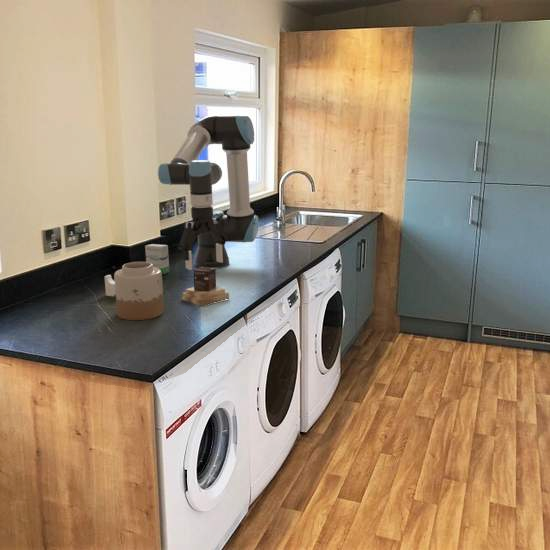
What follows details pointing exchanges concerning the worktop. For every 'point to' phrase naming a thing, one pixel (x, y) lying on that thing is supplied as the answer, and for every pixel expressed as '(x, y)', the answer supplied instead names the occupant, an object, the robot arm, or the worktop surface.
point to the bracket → (110, 286)
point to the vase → (139, 291)
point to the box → (204, 278)
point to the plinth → (206, 300)
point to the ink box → (158, 256)
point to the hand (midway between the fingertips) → (204, 265)
